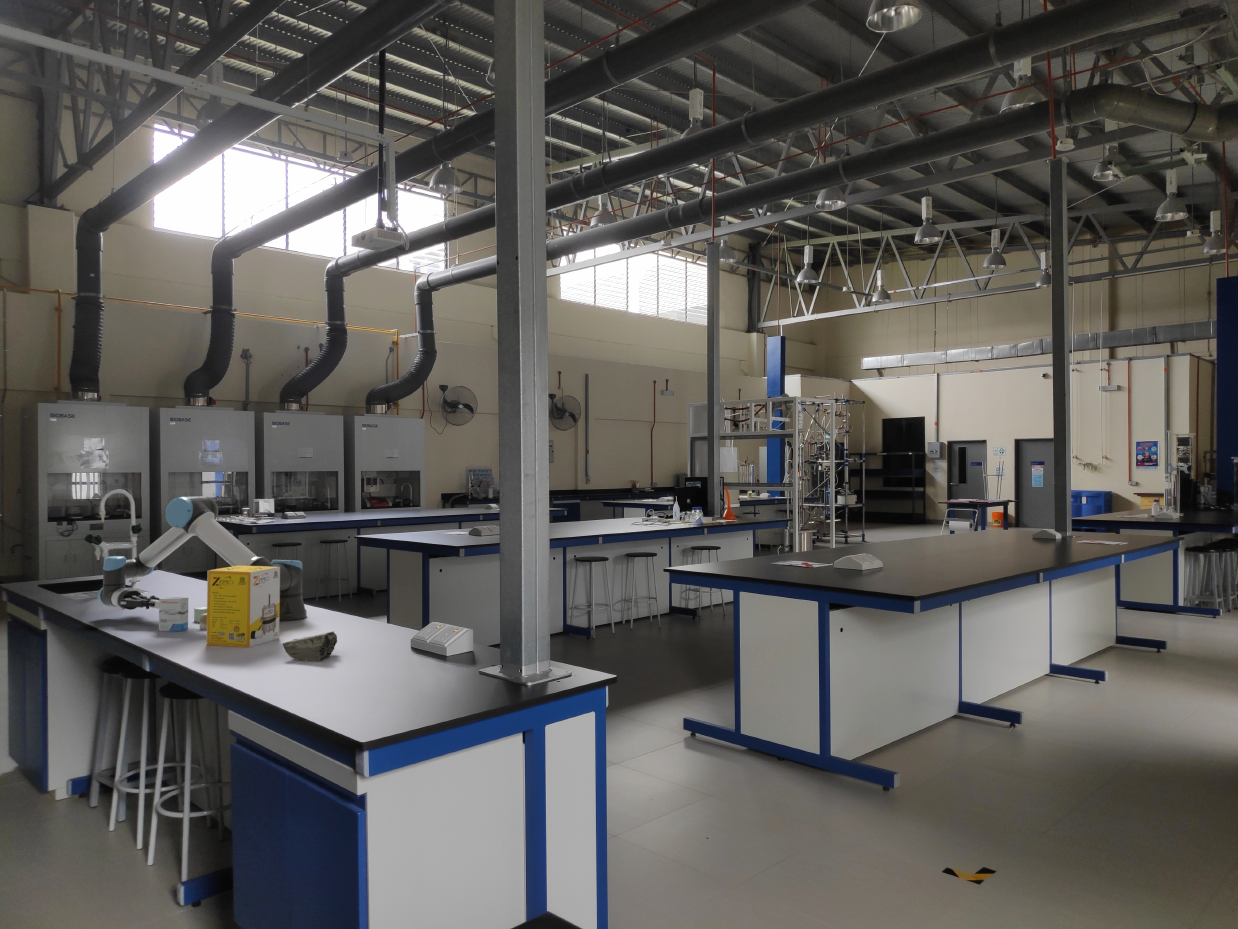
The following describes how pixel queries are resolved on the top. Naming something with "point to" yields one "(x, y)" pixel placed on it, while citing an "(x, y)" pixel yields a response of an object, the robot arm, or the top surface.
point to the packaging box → (243, 605)
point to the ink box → (173, 614)
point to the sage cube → (199, 613)
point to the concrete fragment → (312, 647)
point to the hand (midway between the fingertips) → (161, 605)
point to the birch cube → (203, 621)
